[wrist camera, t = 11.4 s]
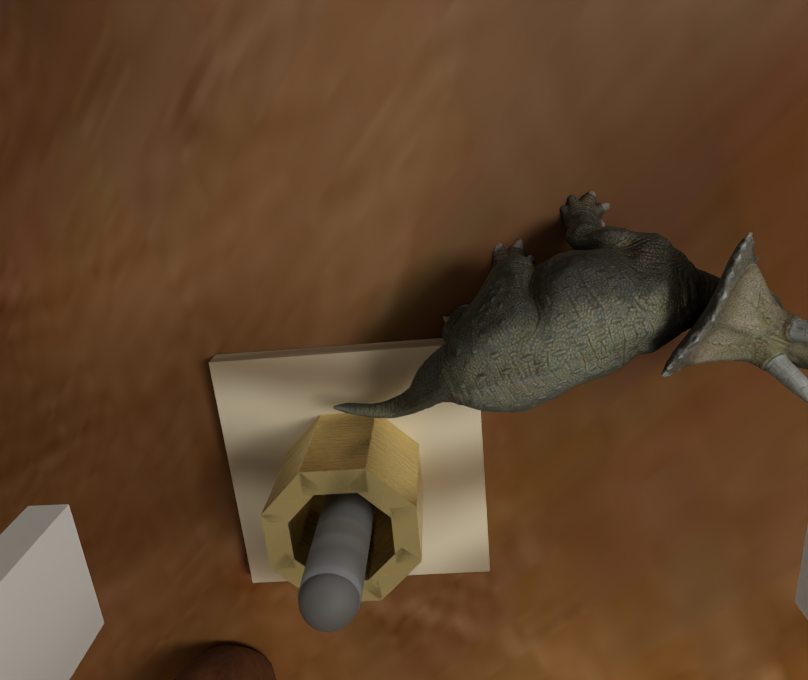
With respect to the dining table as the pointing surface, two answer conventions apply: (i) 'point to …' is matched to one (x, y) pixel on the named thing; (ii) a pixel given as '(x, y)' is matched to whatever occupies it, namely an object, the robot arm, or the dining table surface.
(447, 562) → the post board
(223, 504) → the dining table surface
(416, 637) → the dining table surface
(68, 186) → the dining table surface
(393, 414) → the dinosaur figurine
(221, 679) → the wooden figurine
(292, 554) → the sleeve
